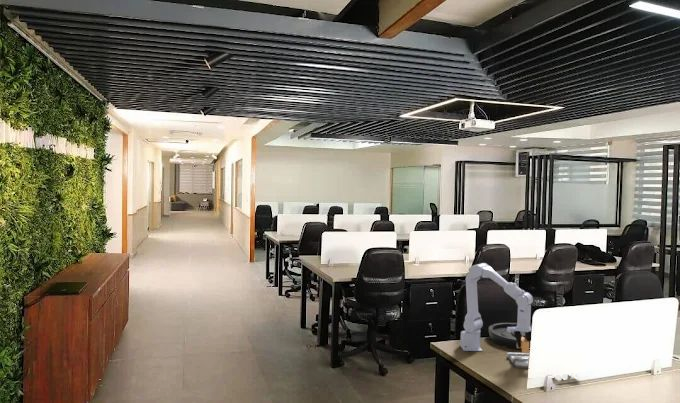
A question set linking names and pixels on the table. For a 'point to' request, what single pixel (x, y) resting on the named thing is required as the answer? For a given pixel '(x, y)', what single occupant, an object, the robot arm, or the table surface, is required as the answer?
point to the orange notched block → (524, 345)
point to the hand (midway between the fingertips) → (522, 347)
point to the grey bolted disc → (504, 335)
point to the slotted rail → (518, 359)
